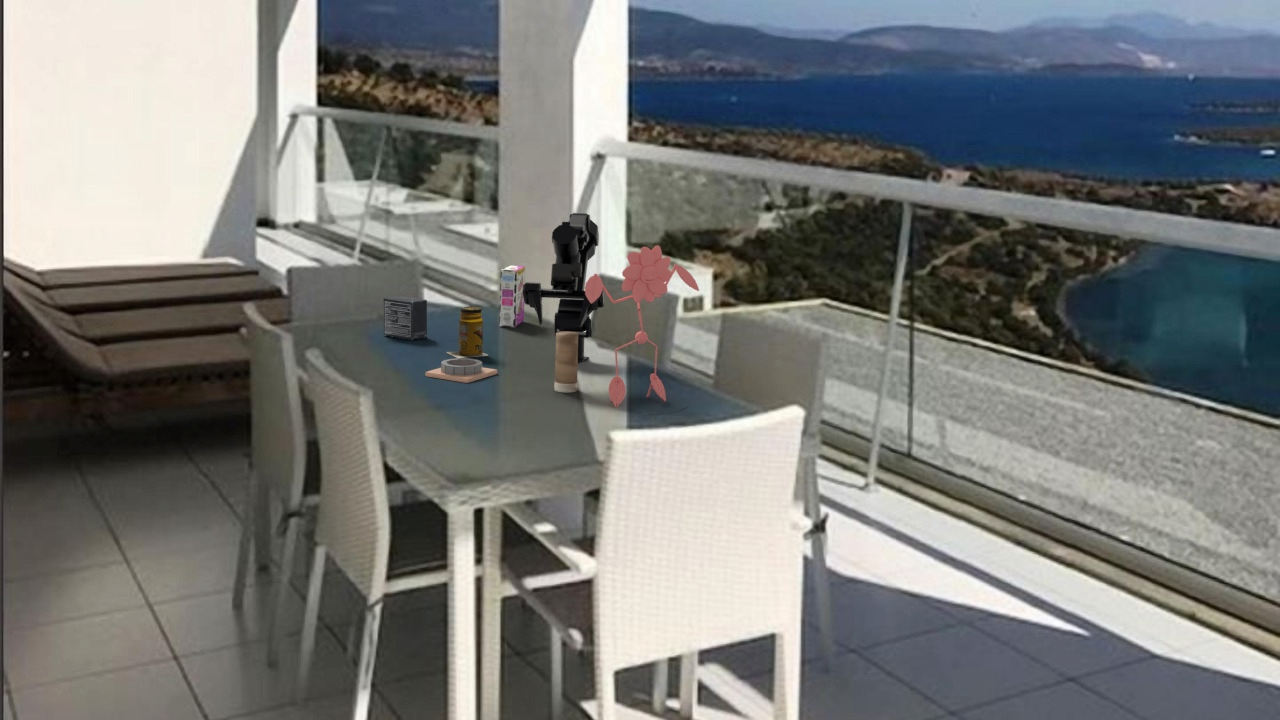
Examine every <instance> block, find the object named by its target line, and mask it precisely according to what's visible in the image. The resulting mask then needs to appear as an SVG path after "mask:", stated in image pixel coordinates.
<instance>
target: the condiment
mask: <svg viewBox="0 0 1280 720" xmlns="http://www.w3.org/2000/svg"><path fill="white" fill-rule="evenodd" d="M459 316H460V317H459V319H458V351H446V354H448V355H450V356H451V357H455V359H456V358H478V357H486V356H487V357H488V356H489V354H487V353H484V343H483V342H484V337H483V336H484V319H483V318H482V316H483V315H482V308H481V307H478V306H463V307H461V308H460V314H459Z"/></svg>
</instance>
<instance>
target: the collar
mask: <svg viewBox="0 0 1280 720" xmlns="http://www.w3.org/2000/svg"><path fill="white" fill-rule="evenodd" d="M424 374H425V377H429V378H435V379H440V380H446V381H447V380H448V381H451V382H452V381H453V382H460V383H466V384H468V383H471V382H475V381H477V380H481V379H485V378H487V377H491V376H495V375H498V369H495V368H488V367H483V361H482V360H479V359H474V358H468V357H465V358H456V357H455V358H449V359H448V358H447V359H444V360H442V361H441V363H440V367H437V368H435V369H431V370H428V371H425V373H424Z"/></svg>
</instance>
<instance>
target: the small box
mask: <svg viewBox="0 0 1280 720" xmlns="http://www.w3.org/2000/svg"><path fill="white" fill-rule="evenodd" d="M384 335H388V336H393V337H398V338H397V339H400V338H403V339H402V340H406V339H408V341H416V340H415V339H417V340H420V338H422V339H425V338H424V337H426V338H428V300H427V299H424V298H422V299H421V298H415V297H414V298H413V297H408V296H401V295H399V296H398V295H397V296H389V297H384V298H383V336H384ZM393 337H392V338H393Z"/></svg>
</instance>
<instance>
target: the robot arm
mask: <svg viewBox="0 0 1280 720" xmlns="http://www.w3.org/2000/svg"><path fill="white" fill-rule="evenodd" d="M599 237H600V233H599V226H598V225H597V223H595V222H594V221H593V220H591V216H590V214H588V213H586V212H585V213H584V212H583V213H581V212H572V213H570V214H569V219H568V221H561V224H559V225H557V227H555V228H554V229H553V231H552V235H551V241H552V244H553V250H554V251H553V252H554V254H555V263H552V264H551V276H550V278H551V279H550V285H551V286H552V287H551V288H542V285H541V284H542V283H541V282H526V281H525V284H524V285H523V290H522V291H523V297H524V305H528V306H529V307H530V308H533V310H534V311H535V313H536V316H537V320H538V323H539V326H542V324H543V298H550V299H559V303H558V306H557V312H555V313H554V323H553V324H554V338H556V333H557V332H564V331H568V332H576V333H578V363H581V362H585V361H587V360H590V357H589V356H585V338H586V339H589V338H592V337H593V326H592V325H593V324H592V323H593V321H592V319H591V318H590V315H591V313H593V312H594V311H597V310H598V309H599V308H604V306H605V291H604V290H603V291H602V293H601V295H600V297H599V298H598V299H597V300H596V301H595V302H593V303H592V304H591V303H590V302H589V300H588V298H587V297H586V295H585V285H586V279H587V278H586V277H587V271H588V263H589V261H590V260H591V259H592V258H593V257H594V256H595V254H596V249H597V248H596V247H598V246H599V244H600V243H599V242H600V239H599Z"/></svg>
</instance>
